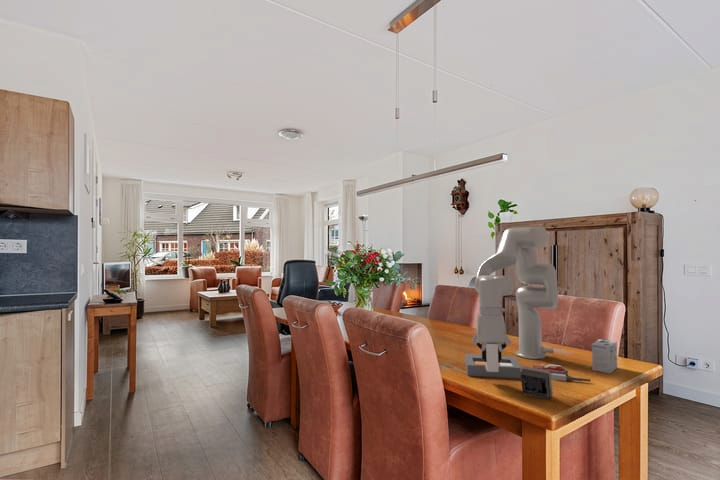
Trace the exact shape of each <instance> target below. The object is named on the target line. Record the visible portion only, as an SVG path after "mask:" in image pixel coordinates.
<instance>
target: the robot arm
mask: <svg viewBox="0 0 720 480" xmlns="http://www.w3.org/2000/svg"><path fill="white" fill-rule="evenodd" d="M548 239H549V233H548V231H547V229H546V228H545V227H543V226H524V227H523V226H521V227H520V226H519V227H518V226H517V227H510V228H507V229H504V231H503V232H502V234H501V237H500V240H499V243H498V246H497V249H496V252H495V253H494V254H493V255H492V256H490V257H489V258H487V259H485V261H483V263H482V264H481V265H480V266H479V268H478V270H477V273H476V275H475V279H474V289H475V291H476V293H478V299H479V300H478V301H479V303H478V305H479V313H477V317H476V324H475V325H476V327H475V329H476V330H475V332H476V333H475V334H474V336H473V337H472V338H471V343H472V344H474V345H476V346H477V347H478V348H479V349H480V350H481V355H482V359H484V362H486V349H485V346H486V343H497V344H498V363H500V360H502V356H503V354H502V353H503V350H504V349H506V347H507V346H509V345H511V344H512V341H511V339H510V337H509V336H508V335H507V331H506V330H507V329H506V323H505V317H504V315H503V313H506V307H505V308H504V307H502V296H503V297H504V296H505V297H506V296H509V295H511V294H512V293H513V291H514V289H515V283H514V281H513V278H511V277H510V276H507V275H496V274H493V273H495V272H497V271H499V270H504V269H506V268H508V267H511V266H513V265H515V264H516V271H517V279H518V281H519V282H520V283H521V284H525V285H526V286H521V287H518V288H517V289H516V290H515V301H516V305H517V311H518V315H517V316H518V349H516V351H515V355H516V356H518V357H521V358H523V359H530V360H541V359H545V358H546V354H547V353H549V354H554V351H555V350H554V348H549V347H544V346H543V343H542V342H543V341H542V318H541V315H540V313H539V312H538V310H537V309H548V310H552V309H556V308H557V307H558V304H559V291H558V290H559V288H558V279H557V277H558V276H557V270H556V269H555V268H556V267H555V266H554V265H553V264H551V263H540V262H538V259H537V252H536V249H535V248H540V247H544V246H545V245H546V244H547V242H548ZM529 285H530V286H529ZM531 285H532V286H531ZM533 285H542V286H533Z"/></svg>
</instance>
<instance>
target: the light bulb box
mask: <svg viewBox="0 0 720 480" xmlns="http://www.w3.org/2000/svg"><path fill="white" fill-rule="evenodd" d="M617 346H618V343H617V341H616V340H606V339H599V338H598V339H597V340H596V341H594V342H593V343H592V344H591V356H592V358H591V361H592V366H591V367H592V371H597V372H602V373H606V374H612V373H613V372H614V371H615V370H616V369H617V368H618V350H617V348H618V347H617Z"/></svg>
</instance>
